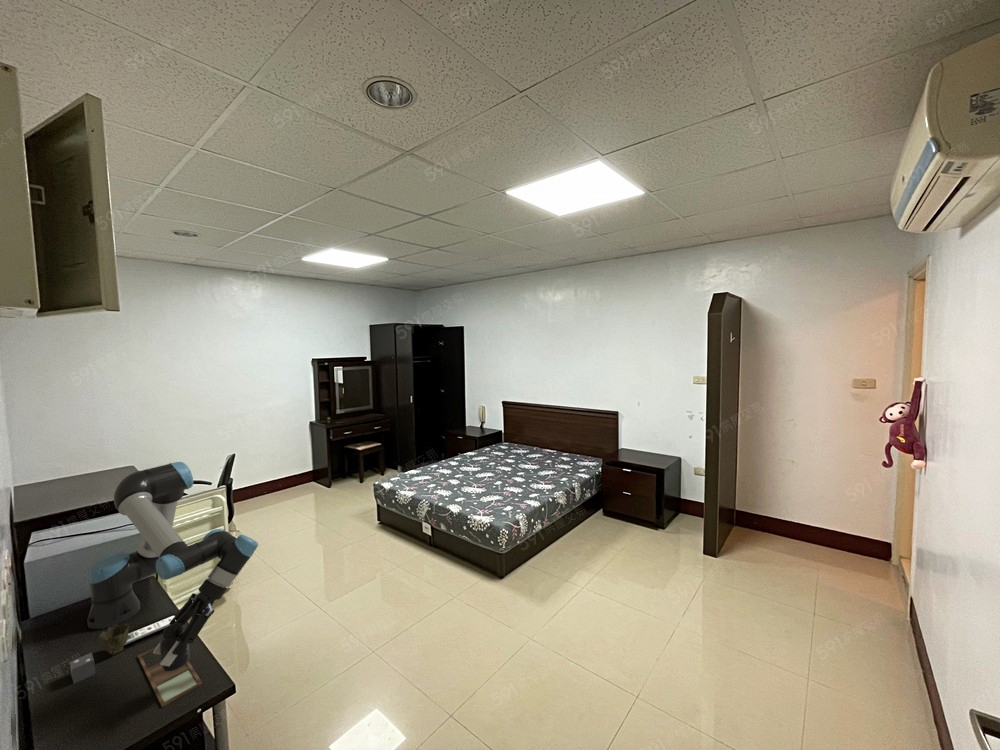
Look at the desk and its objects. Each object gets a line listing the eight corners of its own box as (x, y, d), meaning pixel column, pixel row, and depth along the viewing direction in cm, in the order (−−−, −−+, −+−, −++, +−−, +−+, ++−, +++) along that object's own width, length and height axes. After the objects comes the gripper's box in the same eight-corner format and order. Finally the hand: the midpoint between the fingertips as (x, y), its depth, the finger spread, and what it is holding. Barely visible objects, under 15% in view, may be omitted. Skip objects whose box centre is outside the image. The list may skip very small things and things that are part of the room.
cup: (112, 661, 138) (110, 639, 138) (95, 658, 140) (93, 636, 139) (136, 645, 146) (134, 624, 145) (119, 642, 147) (117, 621, 146)
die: (71, 676, 133) (69, 661, 132) (92, 666, 137) (91, 652, 136) (73, 684, 130) (71, 669, 129) (95, 673, 134) (93, 659, 133)
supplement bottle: (194, 659, 129) (191, 624, 128) (169, 675, 123) (166, 639, 122) (182, 652, 132) (178, 617, 131) (157, 667, 126) (153, 632, 125)
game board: (137, 657, 140) (137, 655, 140) (174, 639, 148) (174, 638, 148) (161, 707, 121) (161, 705, 121) (202, 684, 129) (202, 682, 129)
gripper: (239, 597, 132) (183, 677, 121) (215, 576, 144) (162, 647, 132) (219, 590, 128) (158, 672, 116) (196, 569, 139) (139, 642, 128)
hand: (160, 659), depth 124 cm, fingers closed on supplement bottle, 7 cm apart
